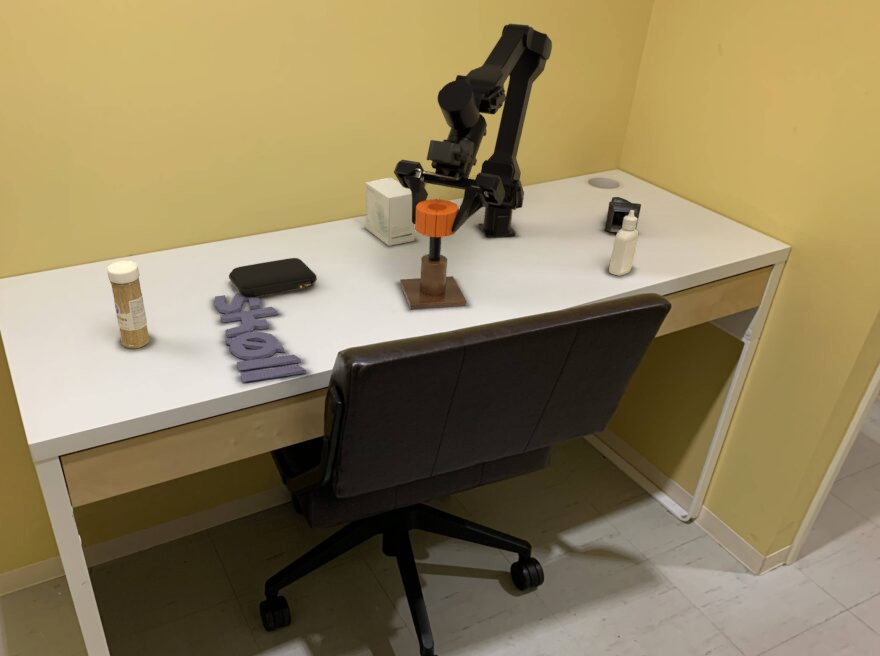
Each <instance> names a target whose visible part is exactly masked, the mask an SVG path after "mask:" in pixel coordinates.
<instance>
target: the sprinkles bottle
mask: <svg viewBox="0 0 880 656" xmlns="http://www.w3.org/2000/svg"><path fill="white" fill-rule="evenodd" d="M106 271H107V277H108V281H109V284H110V286H111V291H112V296H113V302H114V303H113V304H114V308H115V309H114V310H115V314H116V319H117V325H118V327H119V329H118V330H119V334H120V342H121V343H120V344H121V345H122V346H123V347H124V348H126V349H140V348H142V347H144V346H147V345H148V344H149V343H150V340H151V337H150V335H149V329H148V322H147V315H146V308H145V303H144V297H143V293H142V289H141V288H142V287H141V281H140V269H139V265H138V264H137V263H136V262H135V261H131V260H120V261H115V262H113V263H111V264H110V265H108V266H107V269H106Z"/></svg>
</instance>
